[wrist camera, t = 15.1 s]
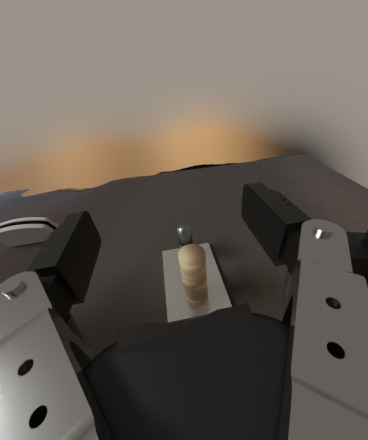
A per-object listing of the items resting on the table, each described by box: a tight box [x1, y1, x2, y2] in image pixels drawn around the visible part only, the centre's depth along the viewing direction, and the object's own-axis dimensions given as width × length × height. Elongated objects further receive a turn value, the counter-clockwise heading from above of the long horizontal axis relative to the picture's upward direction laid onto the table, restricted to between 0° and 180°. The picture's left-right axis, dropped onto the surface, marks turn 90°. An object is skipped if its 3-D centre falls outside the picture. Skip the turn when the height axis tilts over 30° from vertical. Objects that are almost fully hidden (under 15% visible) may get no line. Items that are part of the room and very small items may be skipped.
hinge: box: [0, 217, 59, 247], centre depth 58 cm, size 17×5×10 cm, turn 97°
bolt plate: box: [162, 222, 232, 324], centre depth 39 cm, size 12×18×11 cm, turn 8°
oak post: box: [178, 244, 208, 307], centre depth 34 cm, size 4×4×12 cm
